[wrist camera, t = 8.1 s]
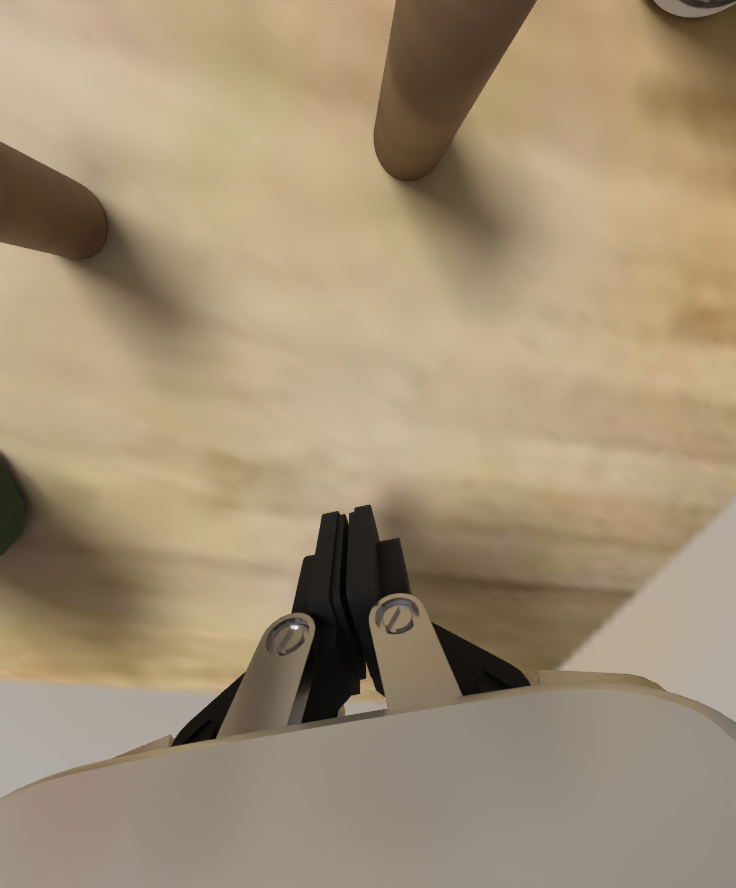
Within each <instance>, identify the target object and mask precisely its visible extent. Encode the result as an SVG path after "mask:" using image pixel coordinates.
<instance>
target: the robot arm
mask: <svg viewBox="0 0 736 888" xmlns="http://www.w3.org/2000/svg"><path fill="white" fill-rule="evenodd" d="M366 663H367V666H368V670H369V673H370V676H371V678H372V679H373V682H374V685H375V688H376V690H377V691H378V692H379V693H380V694H382V695H383V696H384V697H385V698H386V702H387V707H388V709H383V710H377V711H371V712H366V713H360V714H354V715H348V716H345V708H344V703H345V702H346V701H347V700H348V699H349V698H350V696H351V695H357V694H360V680H362V679H366ZM537 673H538V675H531V674H523V673H522V672H521V671H520V670H518V669H517V668H515V667H514V666H513V665H511V664H509V663H507V662H505V661H504V660H502V659H500V658H498V657H496V656H494V655H492V654H490V653H489V652H487V651H485V650H483V649H481V648H479V647H477V646H475V645H474V644H472V643H470V642H468V641H466V640H464V639H462V638H461V637H459V636H457V635H455V634H453V633H451V632H449V631H447V630H446V629H444V628H442V627H440V626H438V625H436V624H434V623H432V622H431V621H430V619H429V616H428V614H427V612H426V609H425V607H424V605H423V604H422V602H421V601H420V600H419V599H417V598H416V597H415V596H412V595H411V591H410V586H409V581H408V576H407V571H406V566H405V561H404V557H403V552H402V548H401V543H400V539H399V538H395V539H390V540H385V541H380V540H379V536H378V532H377V528H376V524H375V520H374V516H373V512H372V508H371V505H365V506H361V507H356V508H355V509H354V512H352V513H349V525H348V521H347V517H346V515H345V514H342V515H340V513H339V511H336V512H331V513H327V514H323V515H322V519H321V524H320V530H319V535H318V541H317V546H316V552H315V555H310V556H306V557H304V560H303V564H302V568H301V573H300V577H299V582H298V586H297V590H296V595H295V599H294V604H293V608H292V613H291V614H288V615H286V616H283V617H281V618H279V619H278V620H276V621H275V622H274V623H272V624H271V625H270V626H269V627H268V628H267V629H266V631H265V633H264V634H263V636H262V638H261V640H260V642H259V644H258V647H257V649H256V651H255V653H254V655H253V658H252V660H251V662H250V664H249V666H248V669H247V671H246V672H245V673H243V674H242V675H241V676H240V677H239V678H238V679H237V680H236V681H235V682H233V683H232V684H231V685H230V686H229V687H228V688H227V689H226V690H224V691H223V692H222V693H221V694H220V695H219V696H218V697H217V698H215V700H213V701H212V702H211V703H210V704H209V705H208V706H207V707H205V708H204V709H203V710H202V711H201V712H200V713H199V714H198V715H197V716H195V717H194V718H193V719H192V720H191V721H190V722H189V723H188V724H187V725H186V726H185V727H184V728H183V729H182V730H181V731H180V732H179V734H178V735H177V737H176V738H174V739H173V737H172V736H171V735H168V736H165V737H163V738H161V739H158V740H156V741H153V742H151V743H148V744H146V745H143V746H141V747H139V748H136V749H134V750H131V751H129V752H127V753H124V754H122V755H119V756H117V757H114V758H112V759H108V760H104V761H100V762H96V763H92V764H88V765H84V766H80V767H76V768H72V769H69V770H66V771H63V772H60V773H57V774H54V775H51V776H48V777H45V778H43V779H40V780H38V781H36V782H33V783H31V784H29V785H26V786H24V787H22V788H19V789H17V790H15V791H13V792H11V793H9V794H8V795H6V796H4V797H2V798H0V888H736V722H734V721H732V720H731V719H729V718H728V717H726V716H725V715H723V714H721V713H720V712H718V711H716V710H714V709H712V708H710V707H708V706H706V705H704V704H702V703H699V702H697V701H695V700H692V699H688V698H686V697H683V696H680V695H677V694H674V693H670V692H667V691H665V690H664V689H663V688H662V687H660V686H659V685H658V684H656V683H654V682H652V681H650V680H648V679H646V678H644V677H640V676H636V675H631V674H616V673H596V672H575V671H556V670H537Z"/></svg>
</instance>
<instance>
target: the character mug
mask: <svg viewBox="0 0 736 888" xmlns="http://www.w3.org/2000/svg"><path fill="white" fill-rule="evenodd" d="M24 506H25V504H24V502H23V500H22V498H21V496H20V494H19V492H18V490H17V488H16V486H15V484H14V482H13V480H12V478H11V477H10V476H9V475H8V474H6V473H5V472H2V473H0V556H2V555H3V554H4V553H5V552H6V550H7V549H8V548H9V547H10V546H11V545H12V544H13V542H14V541H15V540H16V539H17V538H18V537H19V536H20V534H21V533H22V532H23V523H24Z"/></svg>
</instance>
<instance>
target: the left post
mask: <svg viewBox="0 0 736 888" xmlns="http://www.w3.org/2000/svg"><path fill="white" fill-rule="evenodd" d="M106 235H107V222H106V218H105V214H104V211H103V209H102V207H101V205H100V203H99V202H98V200H97V199H96V197H95V196H94V195H93V194H92V193H91V192H90V191H89V190H88V189H87V188H86V187H84V186H83V185H82V184H80V183H78V182H76V181H75V180H73V179H71V178H69V177H67V176H65V175H63V174H61V173H59V172H57V171H56V170H54V169H52V168H50V167H48V166H46V165H44V164H42V163H40V162H38V161H36V160H35V159H33V158H31V157H29V156H27V155H25V154H23V153H21V152H19V151H17V150H15V149H14V148H12V147H10V146H8V145H6V144H4V143H2V142H0V242H2V243H7V244H11V245H15V246H20V247H24V248H28V249H33V250H37V251H41V252H46V253H50V254H55V255H59V256H63V257H68V258H72V259H84V258H88V257H91V256H93V255H94V254H96V253H97V252H98V251H99V250H100V249H101V248H102V246H103V244H104V242H105V239H106Z"/></svg>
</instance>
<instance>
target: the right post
mask: <svg viewBox="0 0 736 888" xmlns="http://www.w3.org/2000/svg"><path fill="white" fill-rule="evenodd" d="M536 1H537V0H396V4H395V10H394V15H393V21H392V27H391V33H390V39H389V45H388V51H387V57H386V62H385V68H384V74H383V80H382V86H381V92H380V98H379V103H378V109H377V115H376V121H375V127H374V147H375V151H376V154H377V157H378V159H379V161H380V163H381V165H382V166H383V167H384V169H385V170H386V171H387V172H388V173H389V174H391V175H392V176H394V177H396V178H398V179H401V180H405V181H412V180H417V179H420V178H422V177H424V176H426V175H427V174H429V173H430V172H431V171H432V170H433V169H434V167H435V166H436V165H437V163H438V162H439V160H440V158H441V157H442V155H443V153H444V152H445V150H446V148H447V147H448V145H449V144H450V142H451V140H452V139H453V137H454V135H455V134H456V132H457V130H458V129H459V127H460V126H461V124H462V122H463V121H464V119H465V117H466V116H467V114H468V112H469V111H470V109H471V107H472V106H473V104H474V103H475V101H476V99H477V98H478V96H479V94H480V93H481V91H482V89H483V88H484V86H485V85H486V83H487V81H488V80H489V78H490V76H491V75H492V73H493V71H494V70H495V68H496V67H497V65H498V63H499V62H500V60H501V58H502V57H503V55H504V53H505V52H506V50H507V48H508V47H509V45H510V44H511V42H512V40H513V39H514V37H515V35H516V34H517V32H518V30H519V29H520V27H521V26H522V24H523V22H524V21H525V19H526V17H527V16H528V14H529V12H530V11H531V9H532V8H533V6H534V4H535V3H536Z"/></svg>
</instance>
